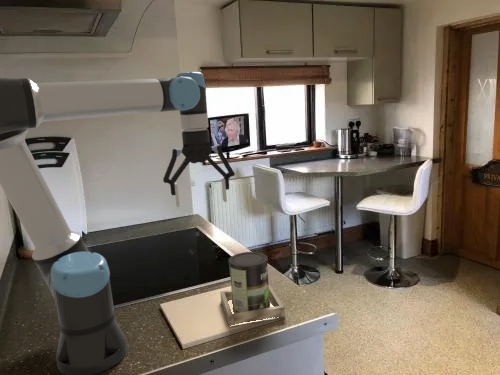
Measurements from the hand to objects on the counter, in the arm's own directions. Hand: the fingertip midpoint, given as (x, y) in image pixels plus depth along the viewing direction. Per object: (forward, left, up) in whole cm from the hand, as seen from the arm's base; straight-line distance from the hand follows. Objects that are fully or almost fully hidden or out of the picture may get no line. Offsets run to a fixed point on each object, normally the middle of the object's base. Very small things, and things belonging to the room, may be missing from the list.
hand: (201, 203), depth 122 cm
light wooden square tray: (+10, -16, -27) cm, 33 cm away
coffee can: (+10, -16, -26) cm, 33 cm away
